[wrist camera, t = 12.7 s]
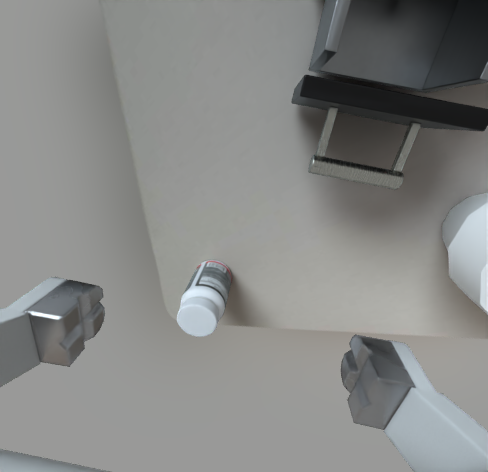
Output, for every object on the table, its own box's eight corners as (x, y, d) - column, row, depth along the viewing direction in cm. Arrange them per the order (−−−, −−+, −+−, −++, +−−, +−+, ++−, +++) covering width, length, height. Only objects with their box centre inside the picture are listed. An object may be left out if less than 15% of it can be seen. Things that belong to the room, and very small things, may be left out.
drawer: (396, 181, 25) (445, 206, 18) (278, 158, 26) (281, 174, 18) (510, -88, 18) (675, -231, 10) (340, -118, 18) (386, -277, 11)
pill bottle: (207, 295, 34) (189, 346, 27) (188, 267, 33) (163, 311, 25) (239, 283, 33) (229, 332, 25) (221, 253, 32) (204, 295, 24)
